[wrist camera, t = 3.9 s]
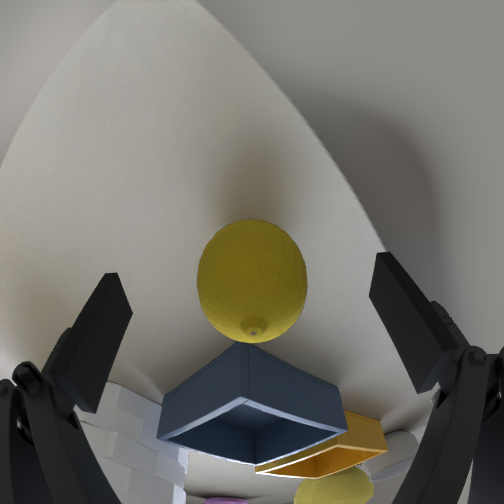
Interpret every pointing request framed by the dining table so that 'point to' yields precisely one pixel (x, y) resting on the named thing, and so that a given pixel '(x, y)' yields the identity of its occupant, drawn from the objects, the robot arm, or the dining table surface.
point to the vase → (336, 488)
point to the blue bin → (251, 409)
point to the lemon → (252, 281)
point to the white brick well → (134, 448)
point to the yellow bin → (333, 451)
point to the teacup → (393, 456)
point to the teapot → (225, 500)
